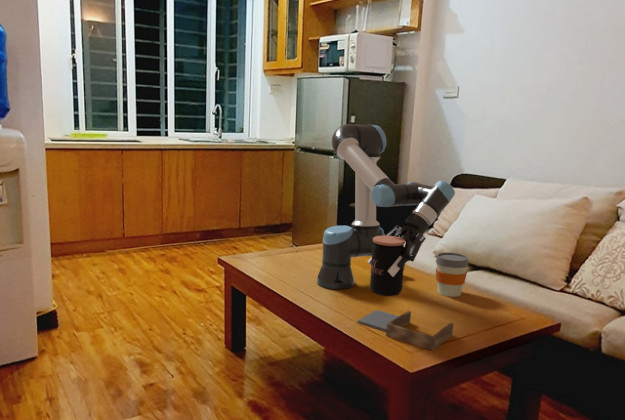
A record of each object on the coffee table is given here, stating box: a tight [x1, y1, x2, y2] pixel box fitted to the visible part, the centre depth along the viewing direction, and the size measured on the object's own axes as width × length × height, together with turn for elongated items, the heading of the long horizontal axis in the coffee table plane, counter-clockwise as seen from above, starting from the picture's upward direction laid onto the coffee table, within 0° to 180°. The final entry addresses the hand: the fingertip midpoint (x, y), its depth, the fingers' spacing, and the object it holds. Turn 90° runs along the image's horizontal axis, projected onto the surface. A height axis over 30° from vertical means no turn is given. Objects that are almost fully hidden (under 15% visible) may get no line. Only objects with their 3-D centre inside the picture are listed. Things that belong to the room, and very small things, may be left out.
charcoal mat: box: [356, 309, 400, 332], centre depth 180 cm, size 12×13×1 cm
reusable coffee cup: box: [435, 252, 469, 298], centre depth 211 cm, size 13×13×15 cm
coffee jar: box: [369, 235, 406, 297], centre depth 176 cm, size 11×11×18 cm
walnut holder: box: [385, 310, 454, 351], centre depth 170 cm, size 16×15×4 cm
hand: (380, 269), depth 175 cm, fingers closed on coffee jar, 11 cm apart
